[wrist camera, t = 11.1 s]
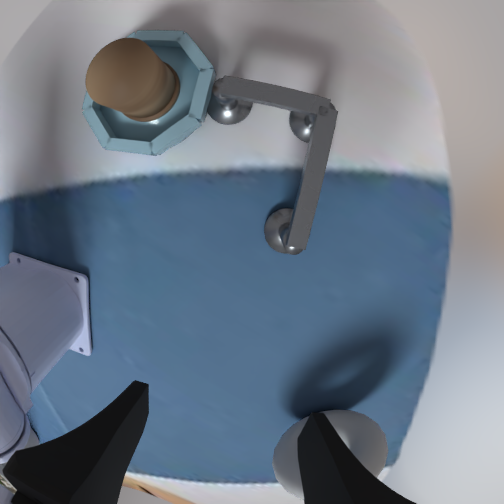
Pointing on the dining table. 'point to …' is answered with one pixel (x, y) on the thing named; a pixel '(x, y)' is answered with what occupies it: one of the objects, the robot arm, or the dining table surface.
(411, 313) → the dining table surface
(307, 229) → the bent rail
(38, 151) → the dining table surface
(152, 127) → the dish
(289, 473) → the donut
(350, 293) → the dining table surface
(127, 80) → the cylinder
